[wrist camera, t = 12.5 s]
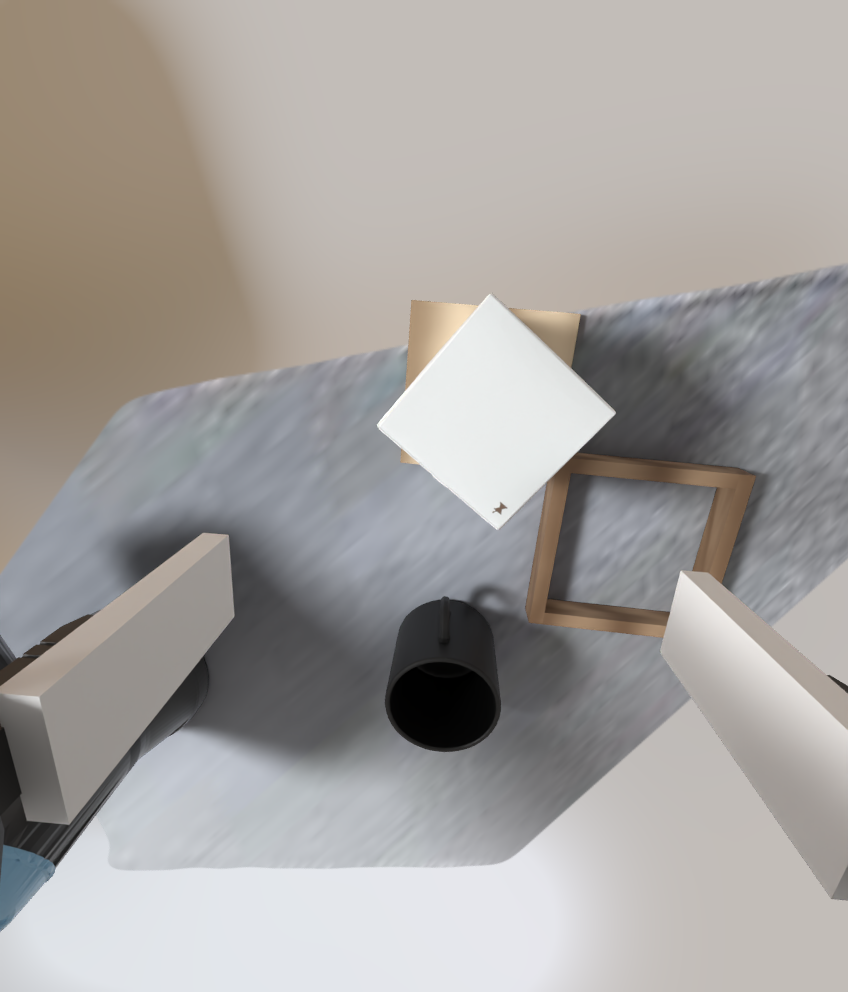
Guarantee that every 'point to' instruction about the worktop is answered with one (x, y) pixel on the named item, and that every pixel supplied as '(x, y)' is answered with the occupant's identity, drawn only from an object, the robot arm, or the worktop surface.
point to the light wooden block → (443, 319)
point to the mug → (444, 678)
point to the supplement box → (495, 413)
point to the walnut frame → (728, 480)
